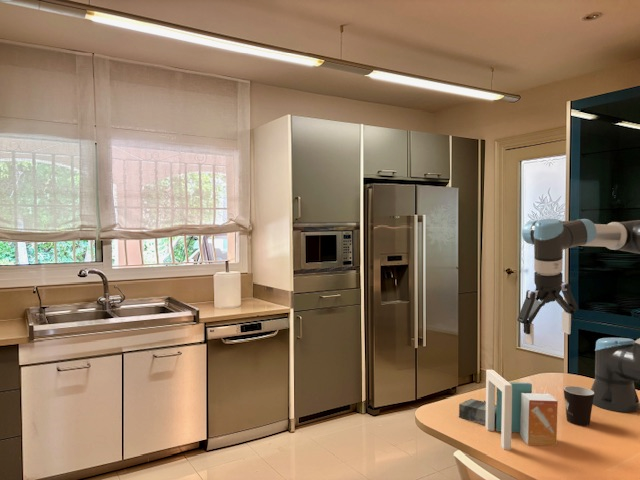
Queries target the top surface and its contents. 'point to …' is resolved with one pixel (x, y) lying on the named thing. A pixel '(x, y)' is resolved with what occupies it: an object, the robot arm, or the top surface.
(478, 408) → the stone block
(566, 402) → the coffee mug
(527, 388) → the door leaf
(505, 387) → the door frame
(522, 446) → the top surface
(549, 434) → the small box
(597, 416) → the top surface
